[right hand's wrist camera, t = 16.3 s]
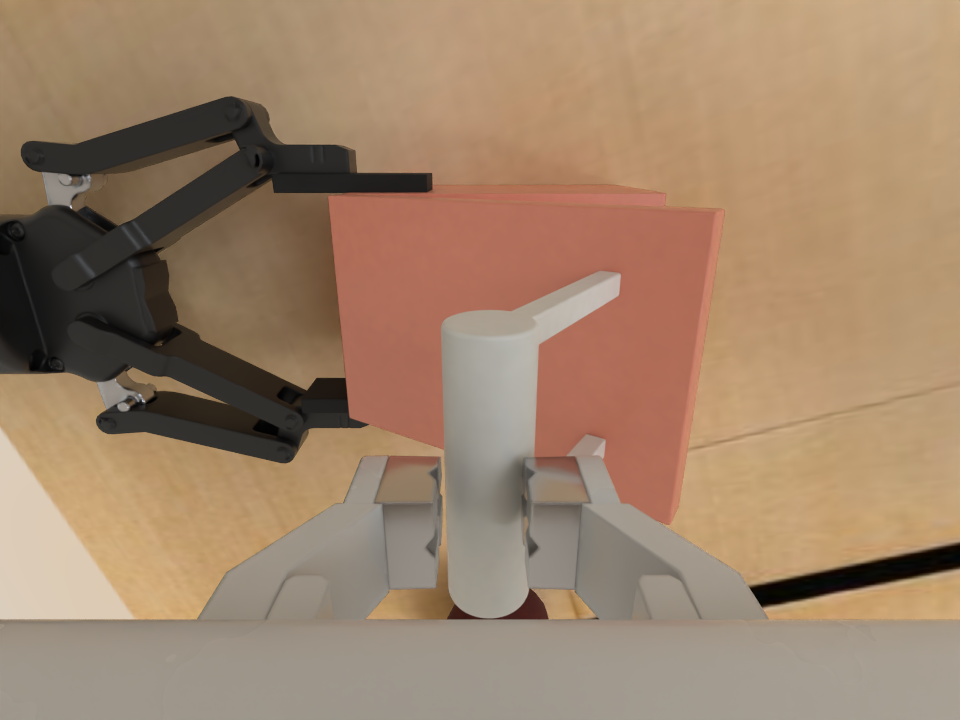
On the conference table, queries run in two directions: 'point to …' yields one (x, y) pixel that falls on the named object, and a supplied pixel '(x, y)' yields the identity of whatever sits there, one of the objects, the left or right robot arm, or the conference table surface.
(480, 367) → the pink board with handle
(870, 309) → the conference table surface
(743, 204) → the conference table surface
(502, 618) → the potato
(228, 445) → the left robot arm
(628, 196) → the chest
